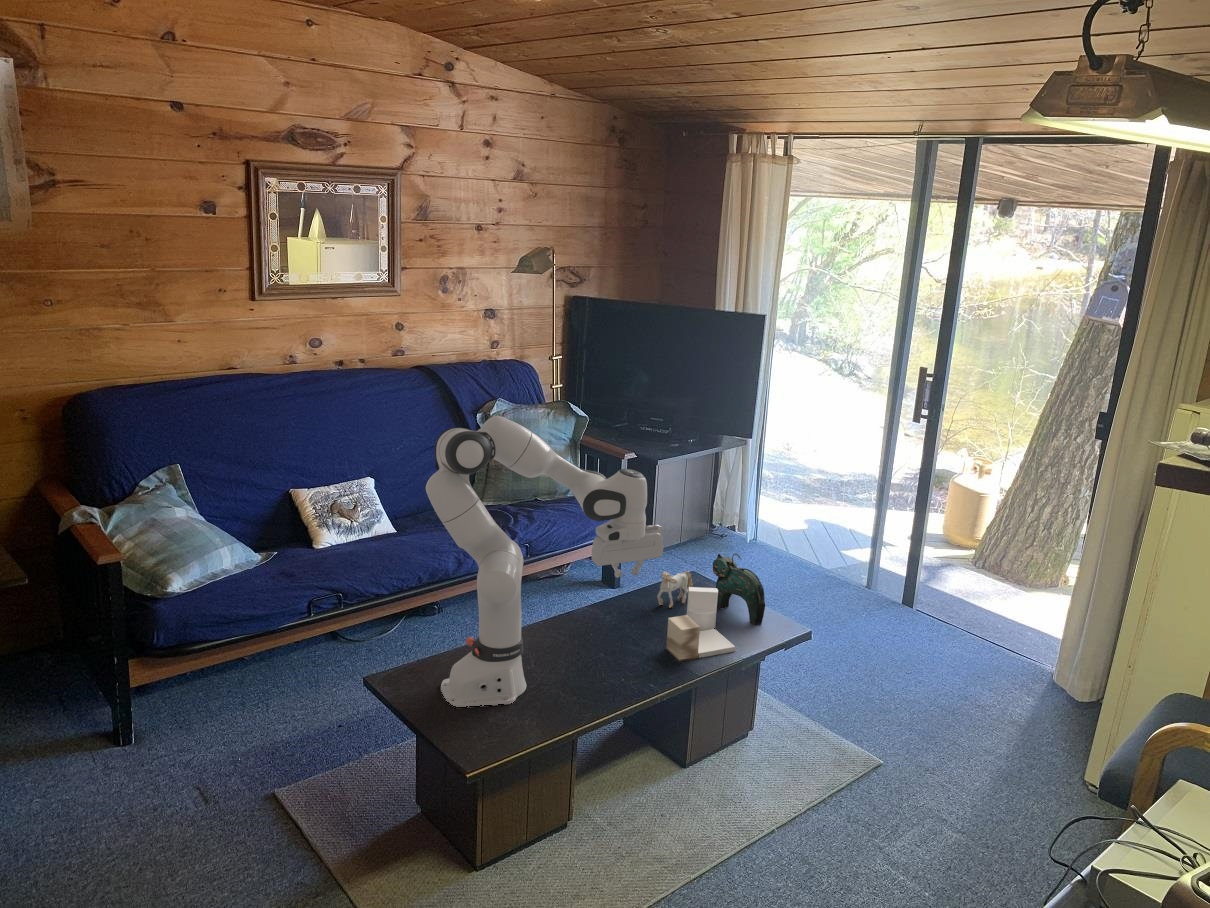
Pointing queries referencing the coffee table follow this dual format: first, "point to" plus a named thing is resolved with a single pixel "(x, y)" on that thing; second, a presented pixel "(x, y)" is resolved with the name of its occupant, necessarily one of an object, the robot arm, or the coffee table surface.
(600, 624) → the coffee table surface
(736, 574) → the ceramic cat
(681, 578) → the unicorn figurine
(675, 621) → the birch block
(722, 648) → the board
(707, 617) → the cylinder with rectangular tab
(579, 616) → the coffee table surface
